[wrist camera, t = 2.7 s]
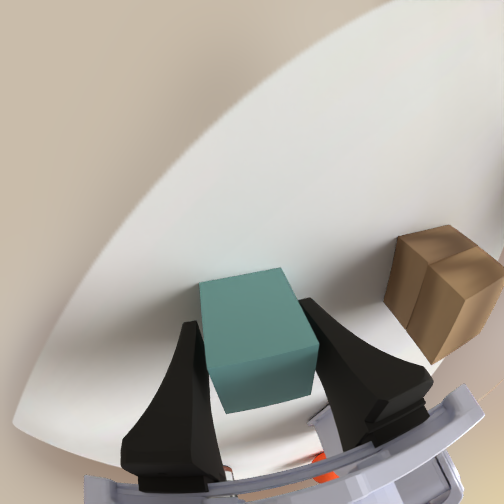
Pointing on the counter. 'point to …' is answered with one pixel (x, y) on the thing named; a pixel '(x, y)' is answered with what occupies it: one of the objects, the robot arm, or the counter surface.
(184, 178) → the counter surface
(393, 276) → the tower lower
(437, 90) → the counter surface
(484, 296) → the tower upper
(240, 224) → the counter surface
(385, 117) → the counter surface
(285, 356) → the teal block
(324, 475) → the clementine
